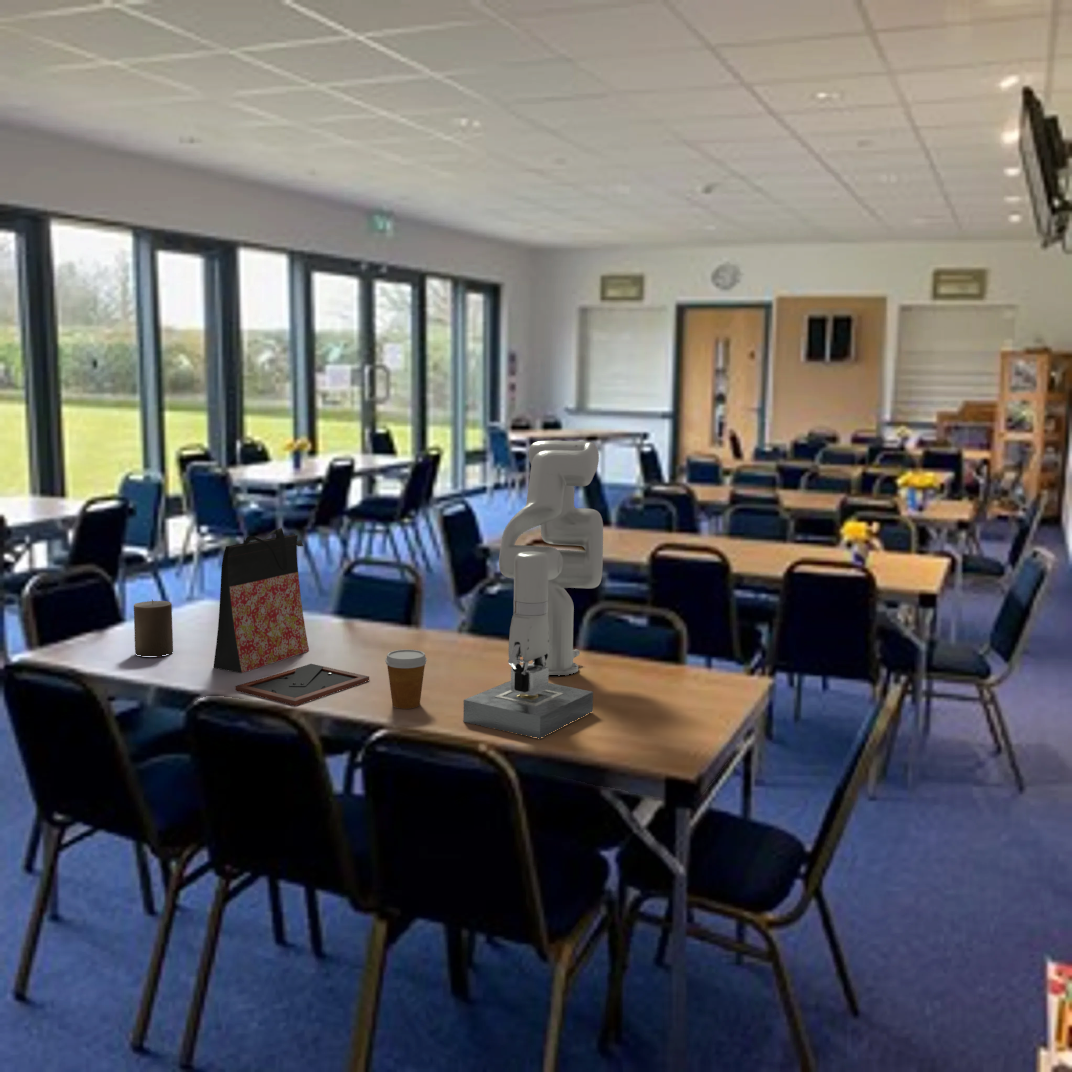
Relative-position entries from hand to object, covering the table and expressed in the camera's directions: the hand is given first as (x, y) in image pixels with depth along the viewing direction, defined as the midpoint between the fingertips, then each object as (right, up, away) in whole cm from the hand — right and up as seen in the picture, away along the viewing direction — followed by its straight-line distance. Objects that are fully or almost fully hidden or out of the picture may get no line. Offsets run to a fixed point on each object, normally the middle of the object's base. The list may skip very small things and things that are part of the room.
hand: (529, 686), depth 232 cm
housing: (0, -1, 0) cm, 1 cm away
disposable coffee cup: (-28, -6, +9) cm, 30 cm away
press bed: (0, -7, +1) cm, 7 cm away
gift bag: (-70, +1, +47) cm, 84 cm away
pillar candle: (-102, +2, +50) cm, 113 cm away
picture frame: (-55, -4, +22) cm, 60 cm away
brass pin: (0, -7, +1) cm, 7 cm away
